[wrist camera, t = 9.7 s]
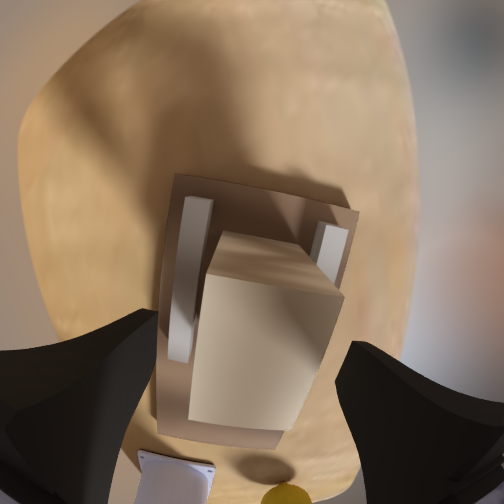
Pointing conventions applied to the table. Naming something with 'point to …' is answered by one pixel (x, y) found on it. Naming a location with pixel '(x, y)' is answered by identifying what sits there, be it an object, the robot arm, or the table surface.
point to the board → (194, 273)
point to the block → (260, 333)
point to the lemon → (286, 495)
